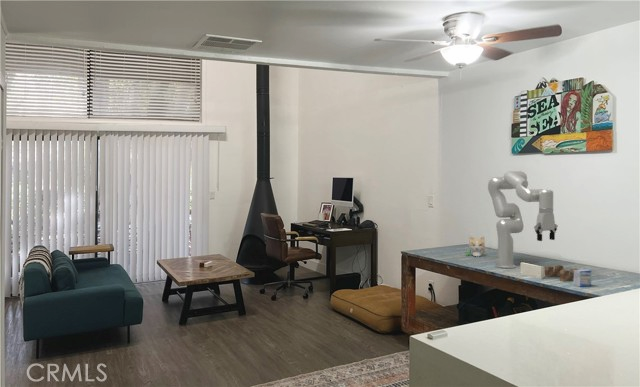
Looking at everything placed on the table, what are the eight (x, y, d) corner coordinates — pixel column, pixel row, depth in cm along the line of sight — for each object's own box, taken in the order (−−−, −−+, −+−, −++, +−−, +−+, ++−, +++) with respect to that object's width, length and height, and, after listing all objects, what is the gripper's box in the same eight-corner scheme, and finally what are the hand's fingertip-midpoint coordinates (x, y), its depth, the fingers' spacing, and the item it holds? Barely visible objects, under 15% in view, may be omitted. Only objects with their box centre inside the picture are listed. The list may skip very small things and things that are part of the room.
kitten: (465, 257, 349) (465, 237, 349) (465, 254, 359) (465, 235, 358) (487, 257, 345) (487, 237, 344) (486, 255, 354) (486, 235, 353)
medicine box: (579, 287, 254) (579, 271, 253) (573, 285, 258) (573, 269, 258) (591, 286, 256) (591, 270, 256) (584, 284, 260) (585, 268, 260)
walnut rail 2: (563, 281, 267) (563, 271, 267) (560, 280, 269) (560, 270, 269) (579, 279, 271) (579, 269, 271) (575, 278, 274) (575, 268, 273)
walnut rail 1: (547, 277, 277) (548, 267, 277) (544, 276, 280) (544, 266, 279) (563, 275, 282) (563, 265, 281) (559, 275, 284) (559, 265, 284)
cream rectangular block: (520, 273, 290) (520, 262, 289) (523, 273, 290) (523, 262, 290) (541, 279, 275) (541, 267, 274) (543, 278, 275) (543, 267, 275)
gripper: (551, 210, 281) (551, 238, 282) (529, 211, 275) (529, 240, 276) (562, 210, 274) (562, 240, 275) (540, 212, 268) (539, 241, 269)
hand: (545, 240), depth 275 cm, fingers open, 9 cm apart
